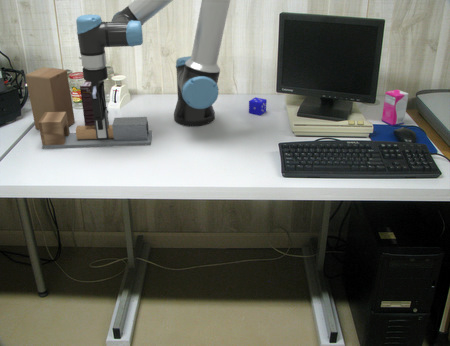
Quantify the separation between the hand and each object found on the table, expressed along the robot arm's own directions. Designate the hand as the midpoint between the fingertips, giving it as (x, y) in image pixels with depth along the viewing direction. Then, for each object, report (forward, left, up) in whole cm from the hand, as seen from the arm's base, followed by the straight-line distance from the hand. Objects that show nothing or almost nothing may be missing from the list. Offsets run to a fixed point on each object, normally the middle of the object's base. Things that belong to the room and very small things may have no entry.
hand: (103, 134), depth 168 cm
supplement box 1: (+5, -14, -2) cm, 15 cm away
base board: (+2, 0, -2) cm, 3 cm away
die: (-55, -22, -2) cm, 59 cm away
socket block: (+16, 0, -2) cm, 16 cm away
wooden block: (+19, -14, -2) cm, 24 cm away
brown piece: (-3, 0, -1) cm, 3 cm away
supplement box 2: (-103, -8, -2) cm, 103 cm away
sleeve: (-9, 0, -2) cm, 10 cm away
